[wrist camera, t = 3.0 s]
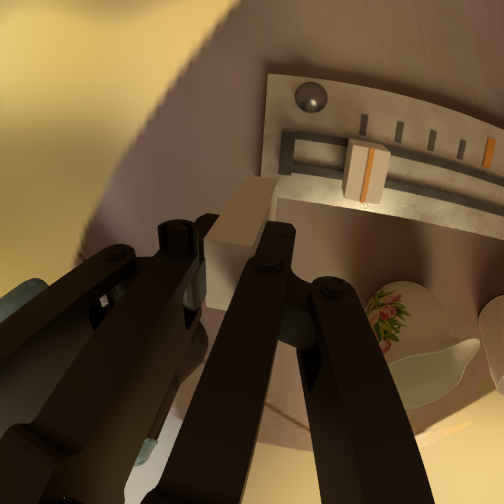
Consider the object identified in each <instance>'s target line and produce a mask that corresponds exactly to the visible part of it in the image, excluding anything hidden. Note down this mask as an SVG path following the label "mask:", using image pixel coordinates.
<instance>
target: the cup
mask: <svg viewBox="0 0 504 504" xmlns="http://www.w3.org/2000/svg"><path fill="white" fill-rule="evenodd" d="M478 323H479V327H480V331H481V335H482V339H483V343H484V347H485V351H486V356H487V360H488V365H489V370H490V374H491V377H492V379H493V381H494V383H495V385H496V388H497V390H498V392H499V393H500V394H504V295H501V296H498V297H496V298H494V299H492V300H491V301H490V302H488V303H487V304H486V305H485V307H484V308H483V309H482V311H481V313H480V315H479V318H478Z"/></svg>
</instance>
